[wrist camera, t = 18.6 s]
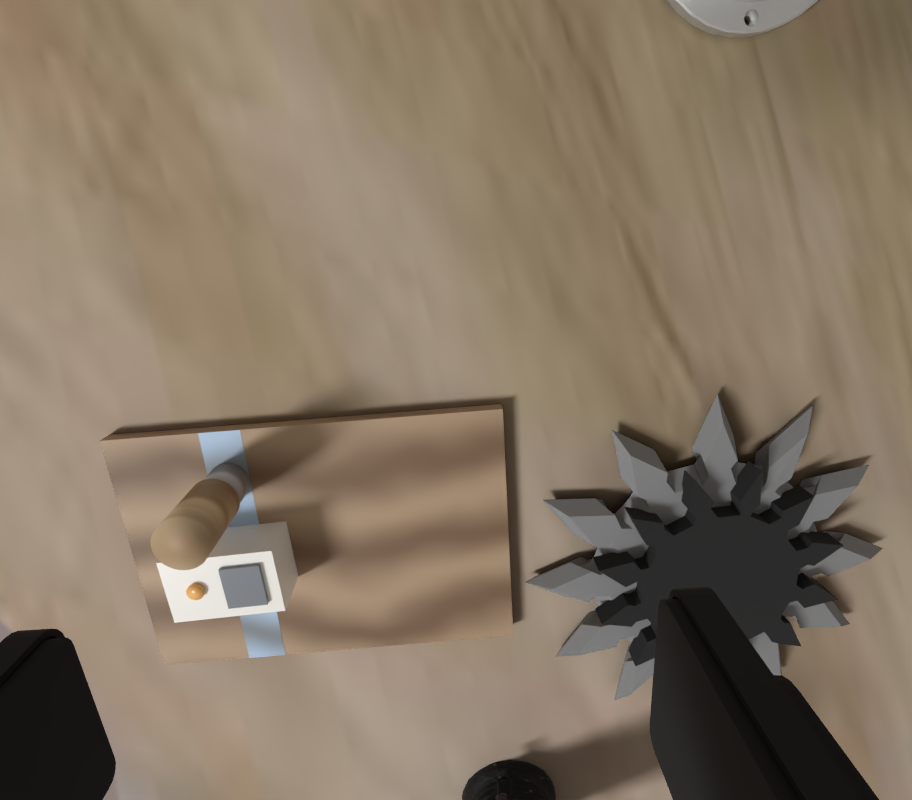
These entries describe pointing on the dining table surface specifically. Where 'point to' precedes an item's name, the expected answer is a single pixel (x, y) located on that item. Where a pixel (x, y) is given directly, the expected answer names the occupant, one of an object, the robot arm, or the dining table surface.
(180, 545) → the awl
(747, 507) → the decorative piece
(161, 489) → the floor panel
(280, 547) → the block
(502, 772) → the lantern
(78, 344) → the dining table surface
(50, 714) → the robot arm
